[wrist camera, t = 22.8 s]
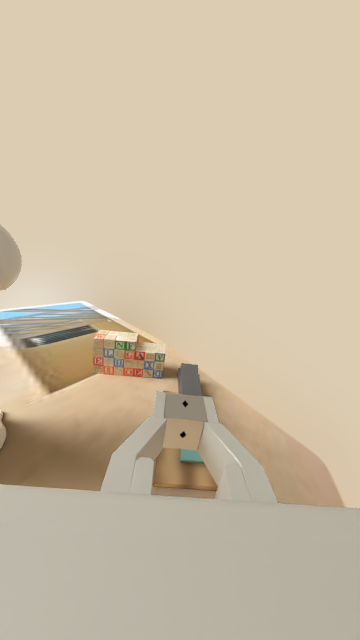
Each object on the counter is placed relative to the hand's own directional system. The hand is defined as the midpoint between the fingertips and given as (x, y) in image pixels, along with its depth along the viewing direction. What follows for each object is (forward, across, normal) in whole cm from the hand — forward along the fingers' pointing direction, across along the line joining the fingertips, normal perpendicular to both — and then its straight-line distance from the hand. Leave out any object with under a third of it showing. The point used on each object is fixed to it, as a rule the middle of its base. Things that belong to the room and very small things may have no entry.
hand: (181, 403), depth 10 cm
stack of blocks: (+43, +12, +30) cm, 54 cm away
